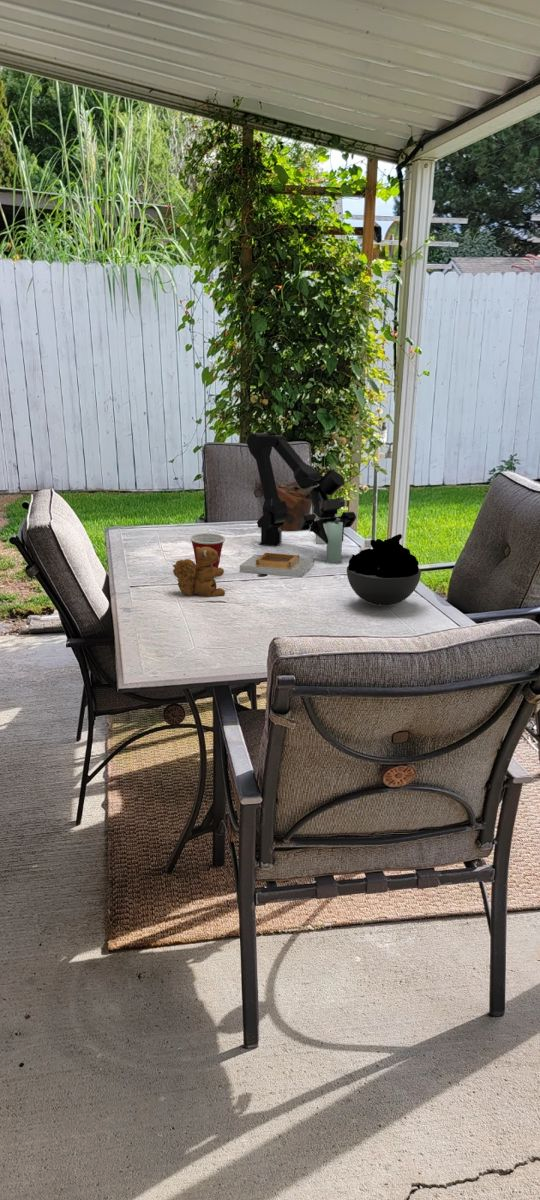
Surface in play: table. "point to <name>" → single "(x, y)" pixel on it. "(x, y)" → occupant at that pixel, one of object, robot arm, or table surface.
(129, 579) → the table surface
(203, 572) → the stuffed squirrel
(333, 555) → the spout can
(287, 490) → the brown wooden pot
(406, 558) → the coal bowl
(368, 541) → the eye dropper bottle
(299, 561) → the grey flat block
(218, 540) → the plastic cup
